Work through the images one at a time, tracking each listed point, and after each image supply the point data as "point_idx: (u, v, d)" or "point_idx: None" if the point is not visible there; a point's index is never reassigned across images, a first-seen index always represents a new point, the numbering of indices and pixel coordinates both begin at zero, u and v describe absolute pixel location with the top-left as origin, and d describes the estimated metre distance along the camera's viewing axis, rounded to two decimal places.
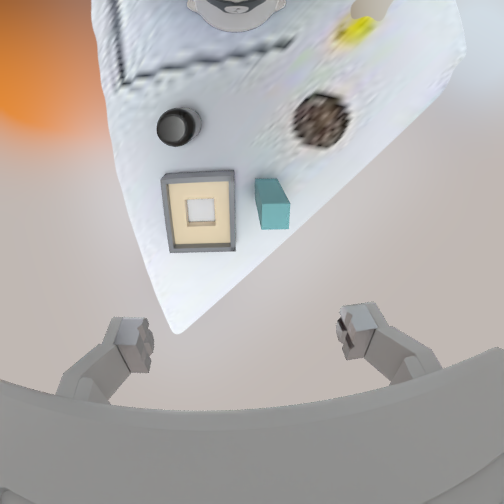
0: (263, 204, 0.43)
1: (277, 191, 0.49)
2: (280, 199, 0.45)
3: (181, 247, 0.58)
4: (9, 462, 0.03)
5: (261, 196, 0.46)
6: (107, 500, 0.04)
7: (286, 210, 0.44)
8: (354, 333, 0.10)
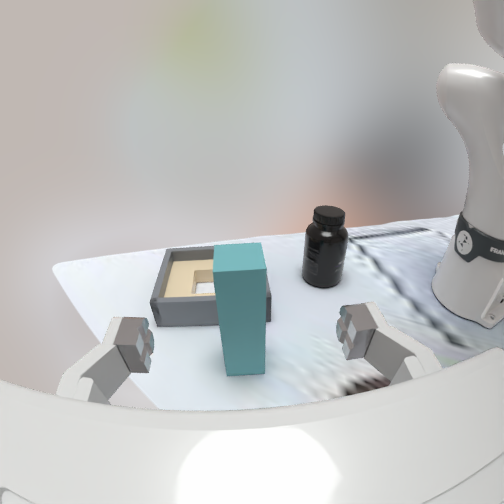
0: (259, 244, 0.27)
1: None
2: None
3: (170, 257, 0.45)
4: (9, 462, 0.03)
5: None
6: (107, 500, 0.04)
7: (251, 266, 0.24)
8: (354, 333, 0.10)
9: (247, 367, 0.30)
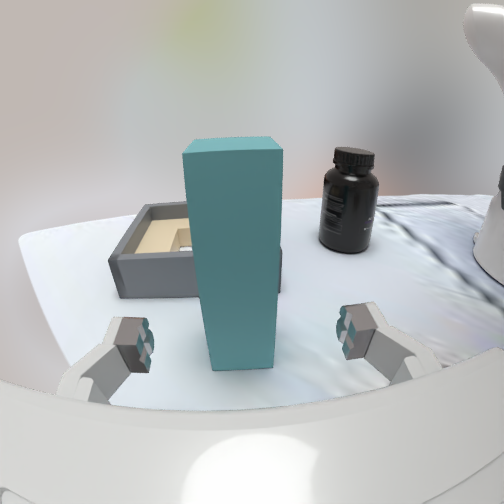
0: (267, 137, 0.15)
1: None
2: None
3: (147, 213, 0.34)
4: (9, 462, 0.03)
5: None
6: (107, 500, 0.04)
7: (255, 147, 0.12)
8: (354, 333, 0.10)
9: (245, 356, 0.19)
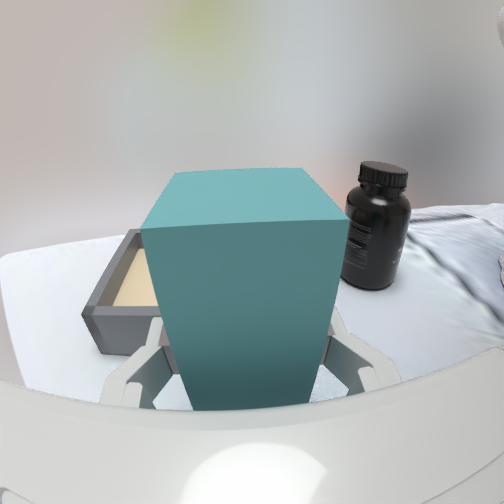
0: (299, 170, 0.09)
1: None
2: None
3: (131, 241, 0.28)
4: (9, 462, 0.03)
5: None
6: (107, 500, 0.04)
7: (291, 211, 0.06)
8: None
9: None
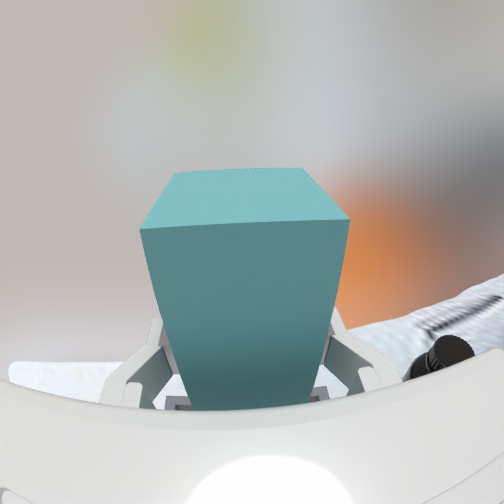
0: (299, 170, 0.09)
1: None
2: None
3: None
4: (9, 462, 0.03)
5: None
6: (107, 500, 0.04)
7: (291, 211, 0.06)
8: None
9: None
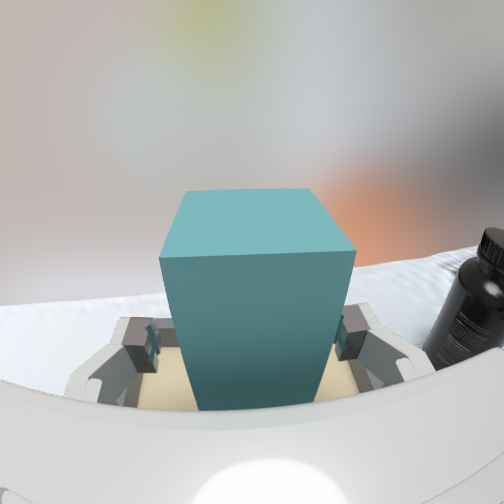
0: (306, 191, 0.10)
1: None
2: None
3: None
4: (9, 462, 0.03)
5: None
6: (107, 500, 0.04)
7: (302, 241, 0.07)
8: (346, 334, 0.10)
9: None
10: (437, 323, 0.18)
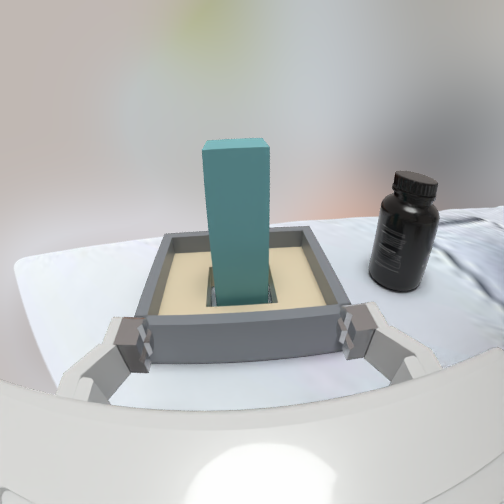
0: (260, 138, 0.21)
1: None
2: None
3: (169, 246, 0.28)
4: (9, 462, 0.03)
5: None
6: (107, 500, 0.04)
7: (251, 146, 0.18)
8: (354, 333, 0.10)
9: None
10: (374, 240, 0.30)
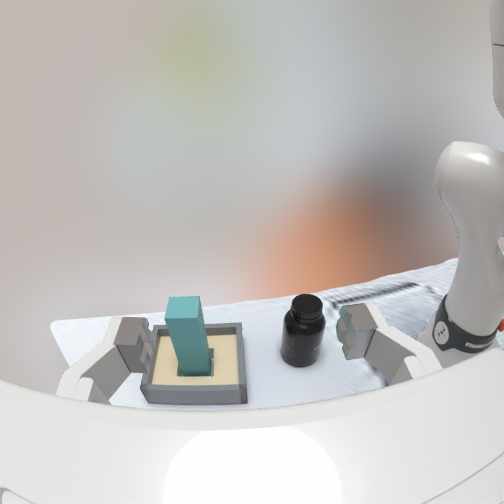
0: (198, 297, 0.39)
1: (204, 344, 0.40)
2: (199, 321, 0.38)
3: (157, 336, 0.46)
4: (9, 462, 0.03)
5: (202, 315, 0.41)
6: (107, 500, 0.04)
7: (188, 315, 0.36)
8: (354, 333, 0.10)
9: (197, 375, 0.42)
10: None
